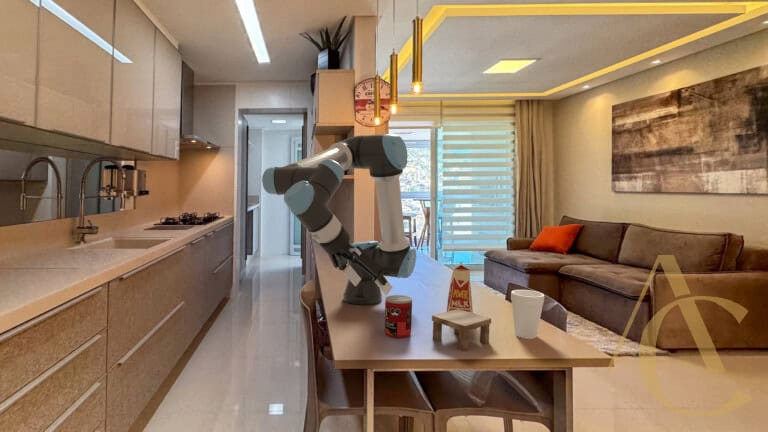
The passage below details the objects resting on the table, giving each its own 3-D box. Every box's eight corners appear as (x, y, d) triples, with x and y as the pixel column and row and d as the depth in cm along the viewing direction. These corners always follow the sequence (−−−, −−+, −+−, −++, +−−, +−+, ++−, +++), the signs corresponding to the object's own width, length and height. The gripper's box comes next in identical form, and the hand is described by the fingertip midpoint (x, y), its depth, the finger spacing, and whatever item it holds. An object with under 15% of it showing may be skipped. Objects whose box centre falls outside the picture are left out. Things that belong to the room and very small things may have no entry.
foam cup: (506, 329, 131) (508, 289, 130) (535, 330, 131) (537, 290, 130) (514, 340, 122) (516, 296, 121) (546, 341, 121) (548, 297, 121)
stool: (431, 339, 121) (432, 315, 120) (457, 331, 128) (458, 308, 128) (464, 351, 112) (465, 326, 111) (490, 342, 119) (491, 318, 119)
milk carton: (473, 322, 138) (475, 263, 137) (445, 320, 140) (447, 261, 139) (472, 315, 147) (475, 259, 146) (446, 312, 148) (448, 257, 147)
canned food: (380, 331, 126) (381, 296, 126) (404, 329, 129) (405, 294, 129) (390, 340, 119) (391, 302, 119) (415, 337, 122) (416, 300, 122)
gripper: (296, 240, 114) (339, 288, 124) (350, 250, 95) (395, 306, 106) (313, 221, 117) (353, 270, 128) (369, 227, 99) (411, 283, 109)
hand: (372, 286), depth 117 cm, fingers open, 13 cm apart
